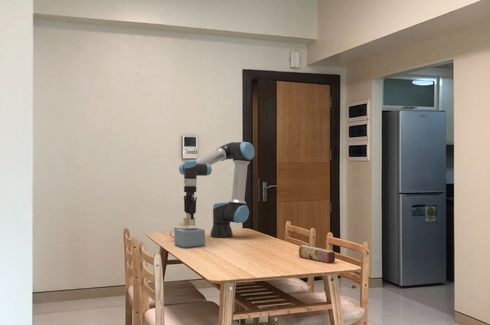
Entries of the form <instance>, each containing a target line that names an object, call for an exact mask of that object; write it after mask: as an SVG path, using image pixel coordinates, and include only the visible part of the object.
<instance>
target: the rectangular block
mask: <svg viewBox="0 0 490 325" xmlns="http://www.w3.org/2000/svg"><path fill="white" fill-rule="evenodd" d="M183 225H185V226H188V227H190V226H191V227H192V226H196V217H194V225H189V218H186V217H183Z"/></svg>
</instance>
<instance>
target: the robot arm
mask: <svg viewBox="0 0 490 325" xmlns="http://www.w3.org/2000/svg"><path fill="white" fill-rule="evenodd" d="M255 154H256V153H255V148H254V146H253V144H252V143H250V142H249V141H248V142H247V141H239V142H237V141H236V142H231V141H230V142H228V143H226V144H223V145H221V146H219V147H216V149H215V150H213V151H212V152H209V153H207V154H205V155H202V156H201V157H199V158H198V157H197V158H196V159H194V160H192V159H191V160H190V159H189V160H188V159H186V160H185V161H184V163H181V164H180V165H179V168H178V170H179V174H180V175H182V176H184V177H183V185H184V186H183V192H184V193H185V195H184V196H183V209H184V212H185V218H189V225H193V226H195V225H194V218H195V214H196V213H197V201H198V197H197V196H196V195H195V193H197V183H198V182H197V180H198V179H197V178H198V177H199V176H200V177H202V176H204V177H206V176H210V175H211V174H212V172H213V169H212V166H213V165H214V164H216V163H218V162H220V161H221V162H223V161H226V160H232V162H233V163H234V170H233V171H234V172H233V180H232V181H233V182H232V191H231V199H230V200H229V201H227V202H217V203H214V204H213V206H212V227H211V231H210V233H209V234H210V235H209V236H210V237H211V238H219V239H220V238H221V239H224V238H231V237H233V236H234V235H233V231H232V227H231V223H235V224H243V223H245V222H246V221H247V220H248V219H249V215H250V210H249V207H248V206H247V202H246V201H245V196H246V195H245V194H246V188H247V187H246V185H247V175H248V165H249V164H250V163H251V160H253V158H254V157H255Z"/></svg>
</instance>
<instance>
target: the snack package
mask: <svg viewBox="0 0 490 325" xmlns="http://www.w3.org/2000/svg"><path fill="white" fill-rule="evenodd" d="M298 257H299V258H301V257H302V258H303V259H308V260H312V261H316V262H322V263H324V264H325V263H326V264H333V263H335V260H336V252H335V251H334V250H331V249H326V248H325V249H324V248H321V247H314V246H310V245H307V244H306V245H305V244H302V245H299V247H298Z"/></svg>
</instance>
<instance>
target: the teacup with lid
mask: <svg viewBox="0 0 490 325" xmlns="http://www.w3.org/2000/svg"><path fill="white" fill-rule="evenodd" d="M184 228H189V226H185V225H184V222H179V224H177V225H176V226H174V228H173V229H172V230H170V231H169V236H170V237H171V238H173V239H175V236H172V234H171V233H172V232H175V229H184Z"/></svg>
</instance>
